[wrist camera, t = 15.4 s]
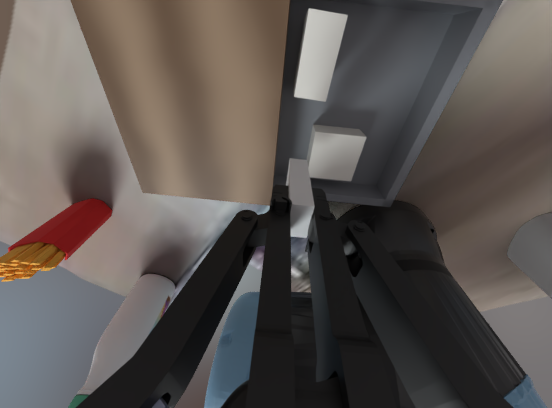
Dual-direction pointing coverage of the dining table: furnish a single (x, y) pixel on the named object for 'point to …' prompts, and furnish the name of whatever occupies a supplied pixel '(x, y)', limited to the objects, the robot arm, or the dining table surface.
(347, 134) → the back tile
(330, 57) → the front tile
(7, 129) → the dining table surface
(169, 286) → the milk bottle
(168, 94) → the walnut platform
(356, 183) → the box
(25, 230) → the dining table surface
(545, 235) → the knobbly-topped grey block
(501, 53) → the dining table surface
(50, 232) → the french fries
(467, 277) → the dining table surface
